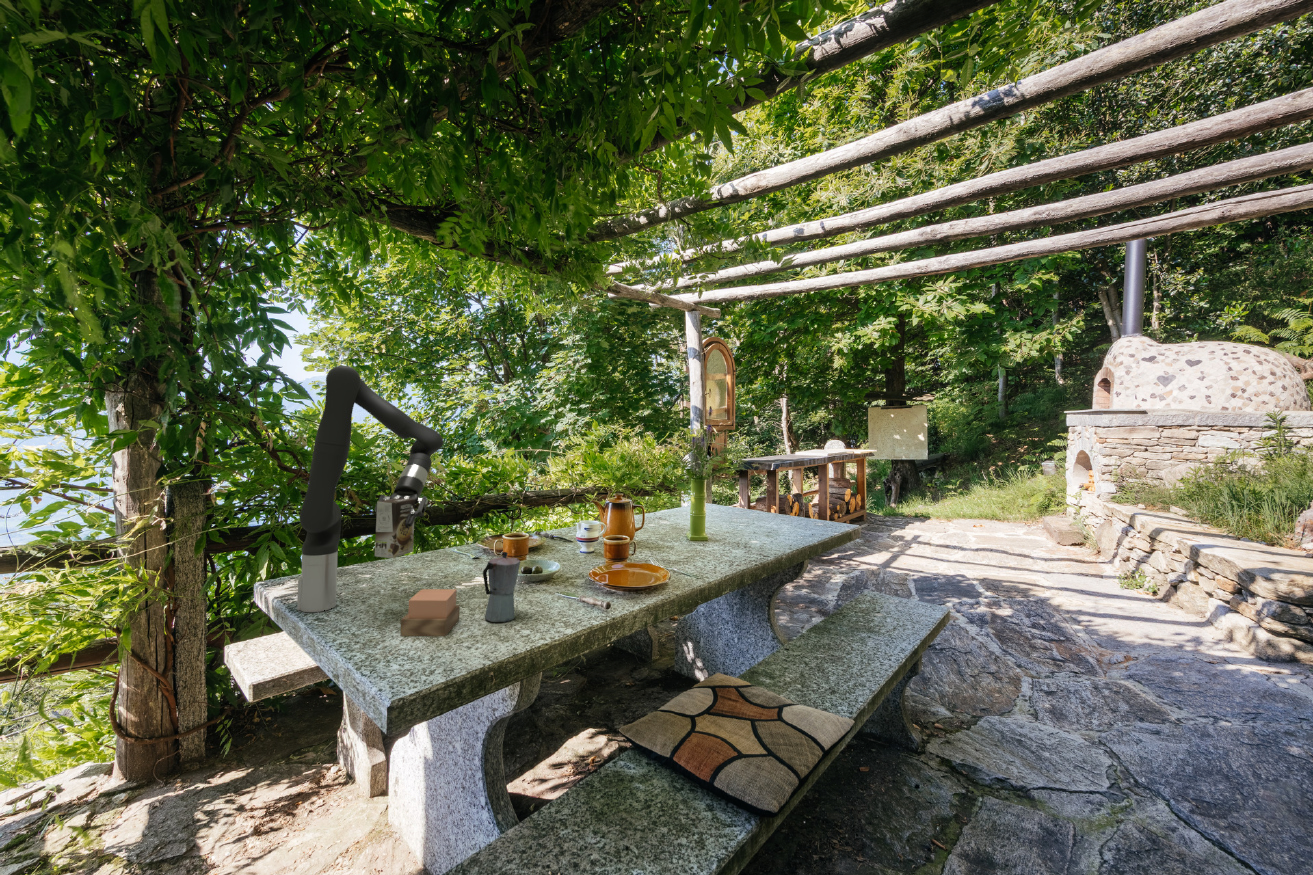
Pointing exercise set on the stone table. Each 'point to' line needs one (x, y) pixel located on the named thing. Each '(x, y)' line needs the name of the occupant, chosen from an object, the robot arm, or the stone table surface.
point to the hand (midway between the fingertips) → (393, 526)
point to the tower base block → (429, 625)
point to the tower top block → (432, 603)
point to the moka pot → (501, 588)
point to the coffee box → (393, 528)
